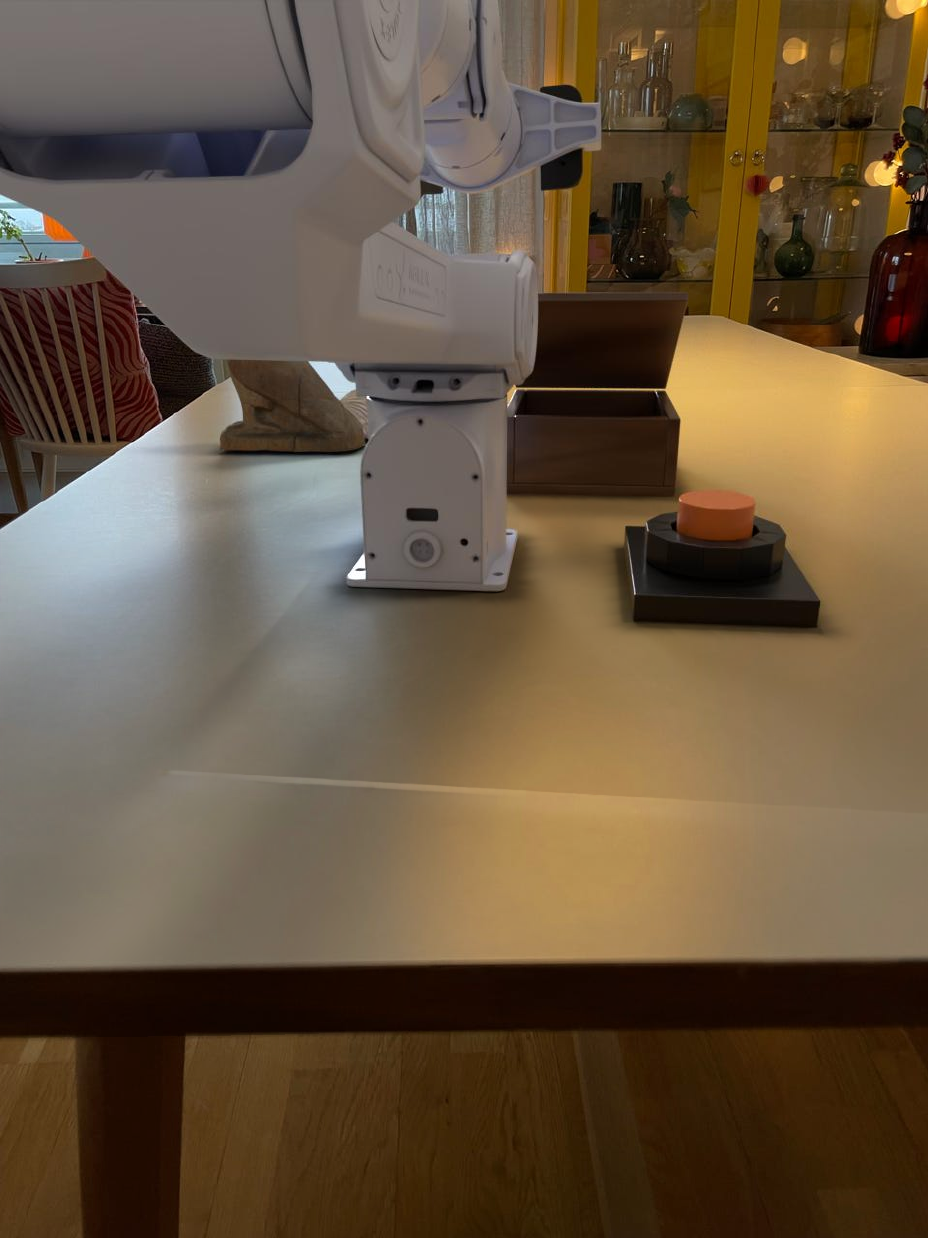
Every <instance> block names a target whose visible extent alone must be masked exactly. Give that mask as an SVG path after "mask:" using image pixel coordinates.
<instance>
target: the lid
mask: <svg viewBox="0 0 928 1238" xmlns="http://www.w3.org/2000/svg"><path fill="white" fill-rule="evenodd" d="M688 303H689V292H687V291H686V292H685V291H682V292H681V291H680V292H678V291H677V292H676V291H675V292H673V291H670V292H669V291H668V292H667V291H666V292H665V291H663V292H660V291H659V292H655V291H654V292H653V291H650V292H648V291H647V292H645V291H644V292H641V291H640V292H639V291H638V292H637V291H636V292H538V332H537V347H536V356H535V363H534V368H533V371H532V373H531V374H530V375H529V376H528V377H527V378H526V379H525V380H524V382H523V384H521V385H514V386H515V388H516V389H606V390H667V386H668V382H669V378H670V374H671V370H672V366H673V362H674V358H675V354H676V350H677V346H678V342H679V338H680V335H681V330H682V327H683V322H684V318H685V315H686V314H685V313H686V310H687V306H688Z"/></svg>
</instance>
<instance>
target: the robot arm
mask: <svg viewBox="0 0 928 1238" xmlns="http://www.w3.org/2000/svg"><path fill="white" fill-rule="evenodd" d="M499 9H500V8H499V0H0V196H2V197H4V198H7V199H9V200H11V201H13V202H15V203H18V204H20V205H22V206H25V207H27V208H28V209H29V208H30V209H32V210H34V211H36V212H39V213H40V214H42V215H45V216H46V217H48V218H51V219H53V220H54V221H55V222H56V223H58V224H59V225H60V226H61V227H62V228H63V229H64V230H65V231H67V233H69V234H70V236H72V237H73V239H75V240H76V241H77V242H78V243H79V244H80V245H81V246H82V247H83V248H85V250H86V251H87V252H88V253H90V255H91V256H92V257H94V259H96V260H97V261H98V262H99V263H100V264H101V265H102V266H103V267H104V268H105V269H106V270H107V271H108V272H109V273H110V274H111V275H113V276H114V277H115V279H117V280H118V281H119V283H120V284H122V285H123V286H124V287H125V288H126V289H127V290H128V291H129V292H130V293H131V294H132V295H134V297H135V298H136V299H138V300H139V302H141V303H142V304H143V305H144V307H146V308H147V309H148V310H149V311H150V312H151V313H152V314H153V315H154V317H156V318H157V319H158V320H160V322H161V323H163V324H164V325H165V327H167V328H168V329H169V330H170V332H172V333H173V334H174V335H175V336H176V337H177V338H178V339H179V340H180V341H181V342H182V343H184V345H186V346H187V347H188V348H190V349H191V350H192V351H193V352H194V353H196V354H199V355H202V356H203V357H206V358H208V359H211V360H227V359H233V360H274V361H308V362H319V363H320V362H322V363H332V364H335V366H336V368H337V369H338V370H339V371H340V372H341V374H342V375H343V377H344V378H345V379H346V380H347V382H349V383H353V384H354V385H355V389H356V395H357V396H366V397H367V418H368V439H369V440H368V439H367V440H368V441H367V443H366V444H365V447H364V450H363V452H362V455H361V458H360V459H361V460H360V467H359V468H360V471H359V479H360V497H361V498H360V500H361V517H362V537H363V553H362V555H361V556H360V557H359V558H358V560H357V562H356V563H355V565H354V566H353V567H352V569H351V570H350V571H349V573H348V574H347V576H346V577H345V578H346V579H345V580H346V585H347V586H348V587H353V588H377V589H407V590H409V589H411V590H439V591H467V592H468V591H470V592H503V591H504V590H506V589H507V586H508V581H509V577H510V573H511V569H512V565H513V560H514V556H515V552H516V551H515V550H516V547H517V542H518V539H519V532H518V530H517V529H514V528H513V529H512V528H507V507H508V506H507V503H508V502H507V500H508V499H507V498H508V497H507V496H508V495H507V494H508V493H507V407H508V393H509V392H510V391H511V390H512V389H513V388H514V386H515V385H521V384H523V382H524V380H525V379H526V378H527V377H528V376H529V375H530V374H531V373H532V371H533V368H534V363H535V356H536V347H537V332H538V293H539V284H538V283H539V282H538V273H537V266H536V264H535V262H534V261H533V259H531V258H530V257H529V255H528V253H527V252H526V250H524V249H512V250H511V252H510V253H444V252H442V251H441V250H439V249H438V248H436V247H434V246H433V245H431V244H429V243H428V242H426V241H424V240H422V239H421V238H419V237H418V236H417V235H414V233H411V232H410V231H408V230H407V229H404V228H403V227H401V226H400V225H399V224H397V223H395V222H394V221H396V220H397V219H398V218H401V217H402V216H403V215H405V214H406V213H407V212H409V211H411V210H412V209H414V208H415V207H417V206H418V205H419V203H420V201H421V199H422V198H423V196H424V195H429V196H431V195H433V196H434V195H441V194H443V193H444V188H445V189H447V190H450V191H454V192H457V193H462V194H468V195H469V194H470V195H473V194H475V195H476V194H481V193H486V192H488V191H491V190H493V189H496V188H498V187H500V186H503V185H504V184H506V183H509V182H510V181H512V180H514V179H517V178H518V177H521V176H523V175H524V174H525V175H526V173H530V172H531V171H533V170H535V169H538V168H539V167H540V191H541V192H545V191H557V190H558V191H559V190H568V189H573V188H575V187H578V186H579V184H580V182H581V180H582V177H583V172H584V166H583V165H584V163H583V162H584V160H583V159H584V157H583V156H584V153H583V151H584V152H596V151H601V150H602V110H601V109H602V107H601V103H600V102H583V98H582V97H583V96H582V94H581V92H580V91H579V89H578V88H577V87H576V86H574V85H571V84H566V83H565V84H554V85H546V86H544V85H543V86H540V88H539V91H538V90H535V89H534V90H533V89H532V88H527V87H524V86H522V85H518V84H515V83H511V82H508V80H507V78H506V74H505V72H504V70H503V42H502V32H501V22H500V21H501V20H500V19H501V18H500V10H499Z"/></svg>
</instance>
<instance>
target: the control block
mask: <svg viewBox="0 0 928 1238" xmlns="http://www.w3.org/2000/svg"><path fill="white" fill-rule="evenodd" d="M677 514H678V511H672V512H665V513H660V514H658V515H656V516H654V517H652V518H650V519H648V520H646V521H645V524H644V525H645V526H644V525H643V526H642V525H625V527H624V540H623V541H624V543H623V550H624V552H623V553H624V560H625V567H626V577H627V582H628V591H629V592H628V593H629V599H630V608H631V616H632V621H633V622H642V623H643V622H645V623H646V622H648V623H671V624H673V623H674V624H677V623H678V624H697V625H698V624H702V625H726V626H727V625H729V626H732V625H733V626H754V627H755V626H756V627H757V626H758V627H785V628H809V629H810V628H811V629H813V628H815V629H816V628H818V623H819V616H820V609H821V599H820V598H819V596H818V595H817V593H816V591H815V590H814V588H813V587H812V585H811V584H810V583H809V581H808V579H807V578H806V577H805V575H804V573H803V572H802V571H801V569H800V567H799V566H798V564H797V563H796V561H795V560H794V557H792V555H791V553H790V552H789V551H788V549H787V547H786V541H787V534H786V532H785V531H784V529H783V527H782V526H781V525H780V524H779V523H776V522H775V521H774V522H773V521H771V520H768V519H766V518H763V517H760V516H758V515H755V514H754V523H753V532H752V537H751V538H745V539H738V540H732V541H731V540H705V539H699V538H694V537H688V536H685V535H682V534H680V533H678V532H676V527H677Z"/></svg>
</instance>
